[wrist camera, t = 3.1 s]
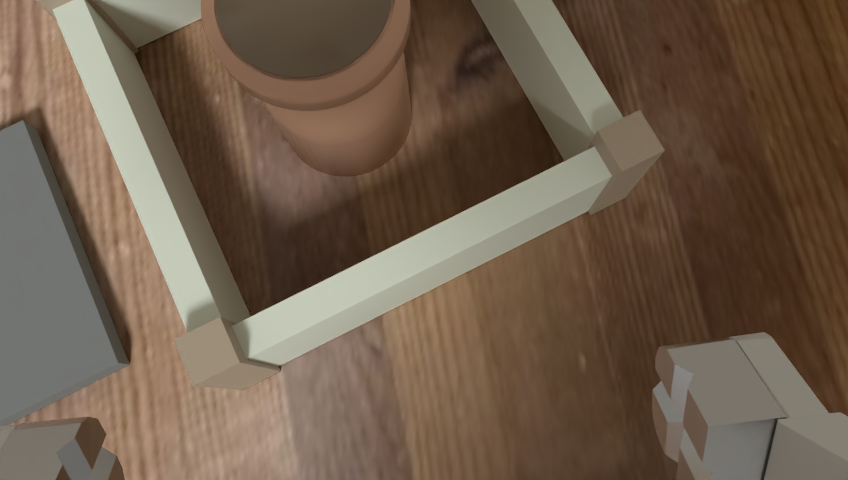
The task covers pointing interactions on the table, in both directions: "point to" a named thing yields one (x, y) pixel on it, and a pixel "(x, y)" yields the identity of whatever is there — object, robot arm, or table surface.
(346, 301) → the raised garden bed frame
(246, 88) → the terracotta pot
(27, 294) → the rubber mat
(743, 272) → the table surface
